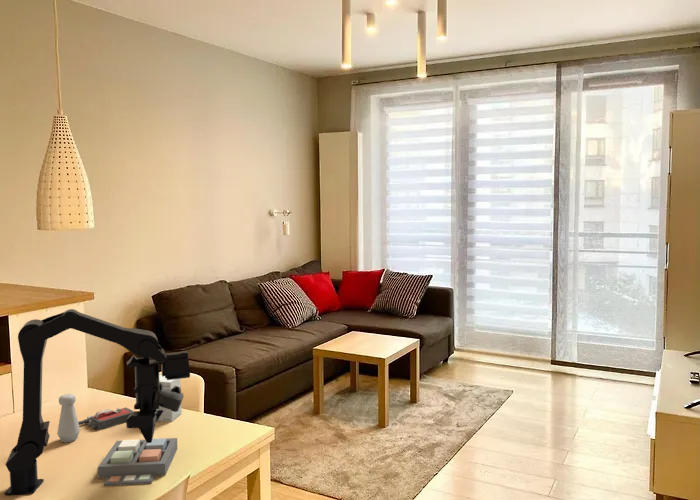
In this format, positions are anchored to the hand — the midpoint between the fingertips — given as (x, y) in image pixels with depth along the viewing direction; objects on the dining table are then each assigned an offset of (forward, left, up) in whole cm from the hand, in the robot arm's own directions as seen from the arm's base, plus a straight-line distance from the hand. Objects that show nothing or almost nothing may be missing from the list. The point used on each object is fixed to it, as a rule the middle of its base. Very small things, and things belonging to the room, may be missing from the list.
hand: (149, 442), depth 152 cm
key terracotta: (0, 0, -5) cm, 5 cm away
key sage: (0, +7, -5) cm, 8 cm away
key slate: (+7, 0, -5) cm, 8 cm away
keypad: (+2, +3, -7) cm, 8 cm away
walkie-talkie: (+33, +22, -7) cm, 40 cm away
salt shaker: (+22, +27, -7) cm, 36 cm away
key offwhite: (+7, +7, -5) cm, 11 cm away
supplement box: (+37, +3, -7) cm, 37 cm away
